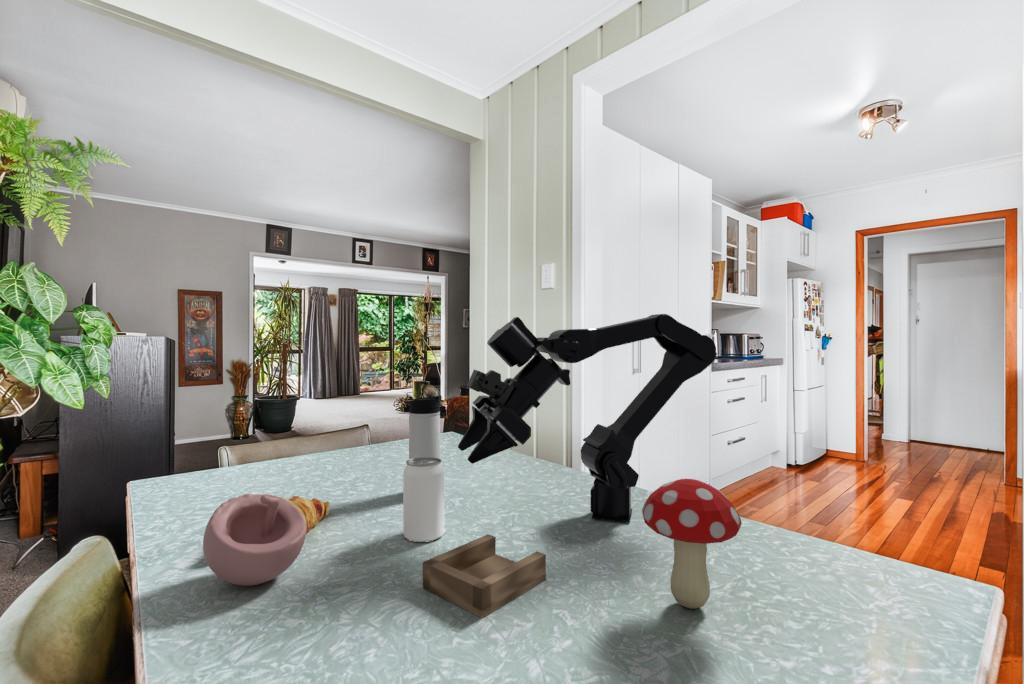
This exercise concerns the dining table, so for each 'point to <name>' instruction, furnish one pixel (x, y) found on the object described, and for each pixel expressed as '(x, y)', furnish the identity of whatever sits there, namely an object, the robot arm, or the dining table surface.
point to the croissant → (310, 510)
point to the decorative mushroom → (691, 532)
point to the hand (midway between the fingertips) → (464, 454)
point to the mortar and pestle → (253, 538)
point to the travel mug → (424, 427)
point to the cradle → (481, 576)
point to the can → (423, 499)
